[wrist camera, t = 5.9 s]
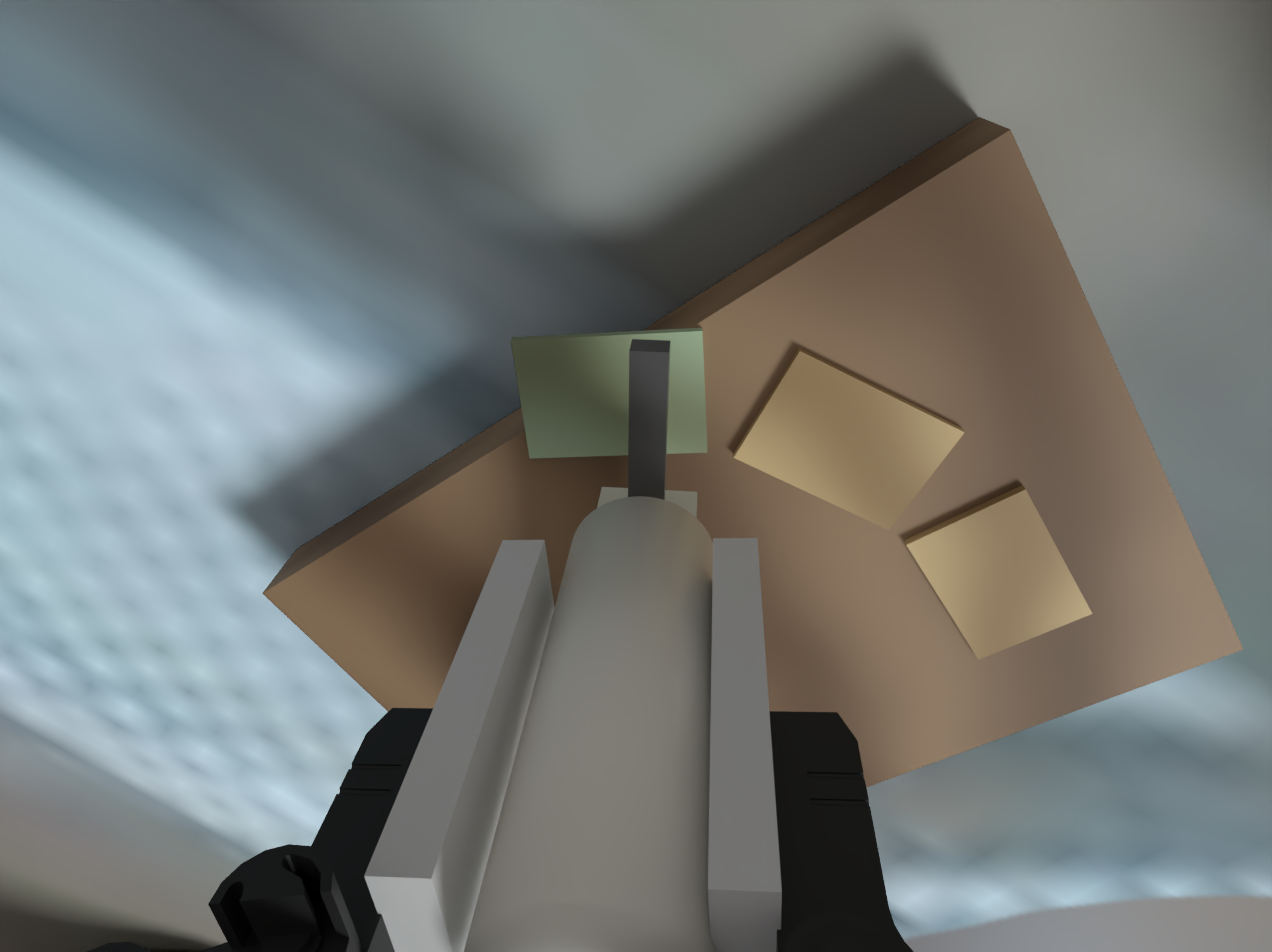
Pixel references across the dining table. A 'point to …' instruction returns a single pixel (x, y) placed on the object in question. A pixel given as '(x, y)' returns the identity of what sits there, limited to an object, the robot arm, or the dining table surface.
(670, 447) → the board
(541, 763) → the peg
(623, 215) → the dining table surface
